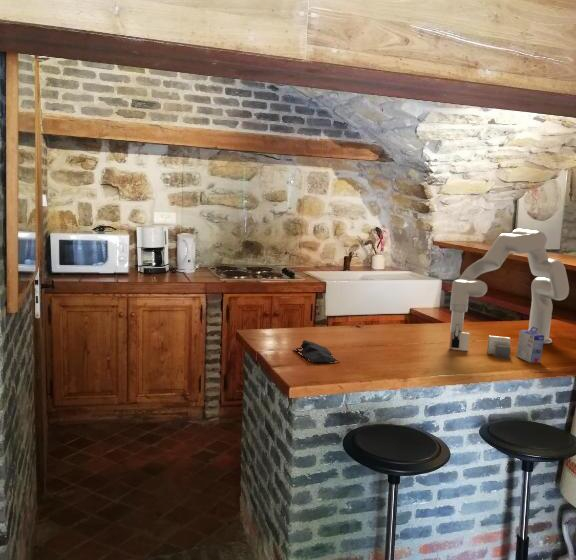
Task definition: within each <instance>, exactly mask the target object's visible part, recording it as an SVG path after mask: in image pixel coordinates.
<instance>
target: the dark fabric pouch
mask: <svg viewBox="0 0 576 560" xmlns="http://www.w3.org/2000/svg"><path fill="white" fill-rule="evenodd" d="M301 347H302V348H303V350H302V351H299V350H298V349H302V348H301ZM295 349H296V350H297V351H298V352H300V353H302V355H303V356H304V357H305V358H307V359H309V360H310V361H311V362H310V361H309V362H310V363H312V362H335V361H339V360H338V359H337V358H336V357H335V358H336V359H337V360H336V359H335V358H333V356H331V355H332V354H333V353H332V352H331V351H330V349H328V348H327V347H326V346H322V345H320V344H318V343H316V342H313V341H308V340H302V343H301V345H300V347H297V348H295ZM331 353H332V354H331ZM303 356H302V357H303ZM304 357H303V358H304ZM305 358H304V359H305ZM307 359H306V360H307Z"/></svg>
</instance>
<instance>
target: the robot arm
mask: <svg viewBox="0 0 576 560" xmlns="http://www.w3.org/2000/svg"><path fill="white" fill-rule="evenodd" d="M547 240H548V238H547V236H546V234H545V233H544V232H542V231H539V230H531V229H524V228H516V229H514V230H512V231H511V232H510V233H506V232H505V233H504V232H503V233H501V234H499V235H498V236H497V238H496V239H495V240H494V242H493V243H492V244H491V246H490V248H489V249H488V250H487V252H485V254H484V256H483V257H482V258H480V259H477V260H476V261H475V262H474V263H471V264H470V265H469V266H467V268H465V269H464V271H463V272H462V274H461V275H460V277H459V278H458V279H454V280H453V281H452V283H451V293H450V294H451V295H450V304H449V305H450V306H449V311H451V316H450V317H451V318H450V327H449V332H450V334H451V333H452V332H453V339H452V348H459V341H460V339H459V336H460V334H461V333H462V332H463V328H464V320H465V319H464V317H465V313H468V310H469V309H468V307H469V299H470V298H469V297H475V298H479V297H483V296H485V295H486V293H487V292H488V285H487V283H485V281H482V280H480V279H476V278H478V277H479V276H480V275H482V274H485V273H488V272H493V271H496V270H498V269H500V268H501V266H502V265H503V263H504V262H506V259H507V258H508V256H509V255H510V254H511V253H512V254H516V255H517V254H518V255H521V254H526V257H527V260H528V265H529V269H530V272H531V274H532V275H533V276H534V277H535V278H534V279H533V280H532V281H531V287H530V288H531V291H530V292H531V307H530V312H529V321H528V322H529V323H528V329H527V330H530V329H531V328H532V327H536V328H538V330H537V332H536V333H539V334H541V335H544V341H543V345H544V344H545V345H547V344H548V345H549V344H551V343H552V342H553V340H552V338H550V332H551V331H550V330H551V322H552V313H553V306H554V305H553V301H552V300H554V301H563V300H565V299H566V298H568V296H569V292H570V286H569V285H570V284H569V280H568V274H567V271H566V266H565V264H564V263H563V261H561V260H560V259H559V260H558V259H554V258H550V257H549V256H548V253H547V250H546V249H547V248H546V246H547V245H546V244H547ZM532 330H534V331H536V329H532ZM454 331H456V332H454ZM458 332H459V333H458ZM454 334H455V335H454Z"/></svg>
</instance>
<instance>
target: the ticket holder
mask: <svg viewBox="0 0 576 560" xmlns="http://www.w3.org/2000/svg"><path fill="white" fill-rule="evenodd" d="M511 340H512V339H511V337H507V336H498V335H497V336H496V335H488V338H487V349H486V354H489V355H494V357H495V358H500V359H501V358H502V359H509V360H510V359H511V350H512V348H511Z"/></svg>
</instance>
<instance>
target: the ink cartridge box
mask: <svg viewBox="0 0 576 560" xmlns="http://www.w3.org/2000/svg"><path fill="white" fill-rule="evenodd" d="M532 329H536V331H534V330H532ZM537 330H538V328H536V327H532V328H531V329H530V330H528V329H520V330H519V334H518V335H519V336H518V341H517V342H518V343H517V348H516V354H515V355H516V356H515V357H517V358H519V359H521V360H524V361H526V362H528V363H530V364H533V363H534V364H535V363H536V364H540V363H542V355H543V354H542V353H543V347H544V344H543V341H544V335H541V334H539V333H536V332H537Z"/></svg>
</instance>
